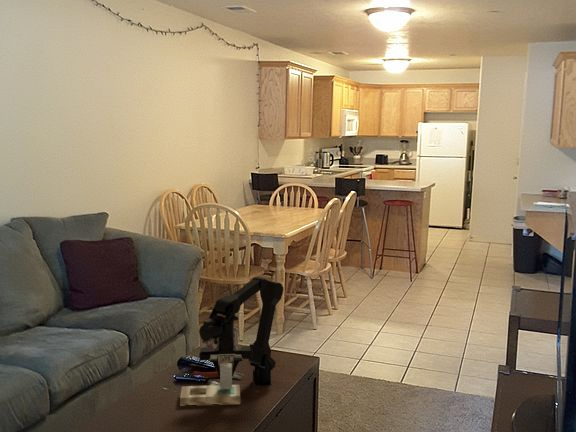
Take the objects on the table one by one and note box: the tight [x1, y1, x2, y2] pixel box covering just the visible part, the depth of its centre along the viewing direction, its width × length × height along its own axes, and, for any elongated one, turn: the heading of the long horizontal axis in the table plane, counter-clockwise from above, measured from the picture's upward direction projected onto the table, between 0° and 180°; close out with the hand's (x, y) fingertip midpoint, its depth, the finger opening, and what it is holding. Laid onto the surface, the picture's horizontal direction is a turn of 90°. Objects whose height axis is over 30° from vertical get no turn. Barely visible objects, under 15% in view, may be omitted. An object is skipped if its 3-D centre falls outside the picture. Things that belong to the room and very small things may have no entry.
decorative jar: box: [199, 325, 239, 366], centre depth 258 cm, size 12×12×18 cm
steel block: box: [219, 362, 233, 389], centre depth 221 cm, size 4×4×8 cm
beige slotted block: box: [179, 384, 241, 407], centre depth 221 cm, size 21×10×3 cm, turn 96°
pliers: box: [192, 370, 246, 380], centre depth 244 cm, size 12×20×3 cm, turn 71°
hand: (226, 376), depth 221 cm, fingers closed on steel block, 4 cm apart
